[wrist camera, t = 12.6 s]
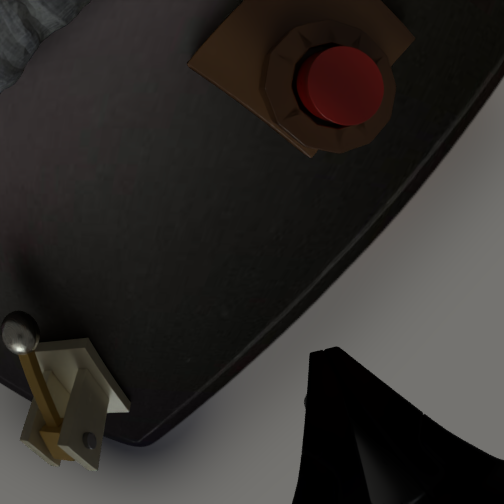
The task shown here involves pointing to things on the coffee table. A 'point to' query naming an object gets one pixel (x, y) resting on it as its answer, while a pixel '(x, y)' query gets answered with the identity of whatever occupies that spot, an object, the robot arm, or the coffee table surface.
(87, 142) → the coffee table surface
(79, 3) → the seashell
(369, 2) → the button box
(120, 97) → the coffee table surface
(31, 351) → the lever
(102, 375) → the bracket
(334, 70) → the button
